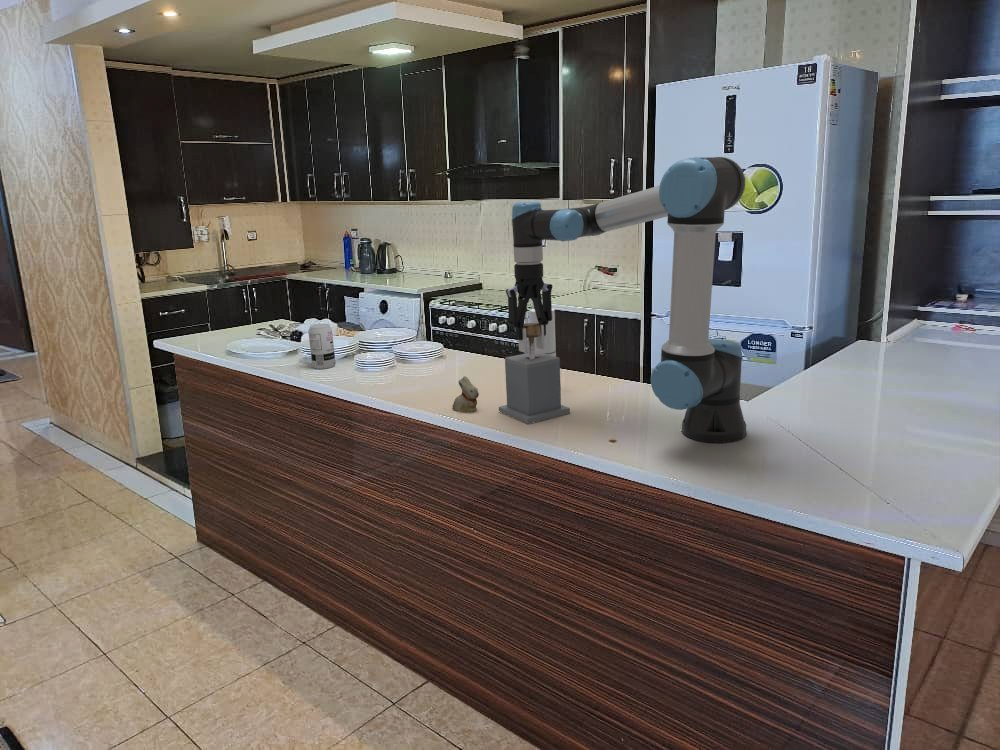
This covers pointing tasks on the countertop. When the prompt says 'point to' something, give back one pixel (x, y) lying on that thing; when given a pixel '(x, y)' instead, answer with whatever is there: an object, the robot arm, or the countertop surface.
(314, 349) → the supplement can
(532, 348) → the plunger
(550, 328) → the cylindrical container
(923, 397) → the countertop surface
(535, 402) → the block
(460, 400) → the chocolate bunny
